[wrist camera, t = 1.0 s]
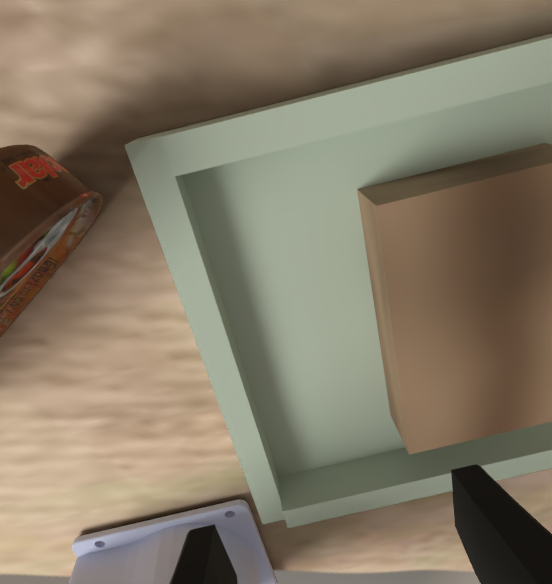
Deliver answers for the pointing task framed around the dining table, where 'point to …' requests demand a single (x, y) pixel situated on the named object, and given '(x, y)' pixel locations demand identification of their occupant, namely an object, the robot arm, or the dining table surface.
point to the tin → (37, 223)
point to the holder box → (327, 270)
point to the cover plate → (464, 296)
